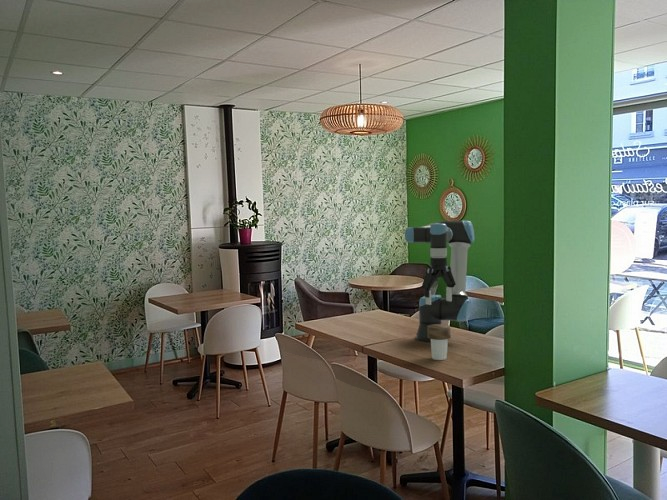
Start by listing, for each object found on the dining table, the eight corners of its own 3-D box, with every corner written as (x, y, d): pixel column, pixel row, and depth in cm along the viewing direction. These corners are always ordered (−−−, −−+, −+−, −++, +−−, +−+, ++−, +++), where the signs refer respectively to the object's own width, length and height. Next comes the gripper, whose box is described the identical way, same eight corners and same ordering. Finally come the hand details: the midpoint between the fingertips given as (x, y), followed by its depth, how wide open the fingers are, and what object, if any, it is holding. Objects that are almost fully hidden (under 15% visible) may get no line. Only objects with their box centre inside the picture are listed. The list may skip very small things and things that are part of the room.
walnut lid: (438, 333, 265) (438, 323, 265) (455, 337, 256) (455, 326, 256) (422, 336, 259) (422, 326, 258) (439, 340, 250) (439, 330, 250)
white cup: (450, 357, 260) (450, 336, 259) (444, 361, 253) (444, 339, 252) (434, 355, 264) (434, 334, 263) (428, 359, 257) (428, 338, 256)
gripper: (451, 254, 265) (451, 298, 267) (413, 258, 251) (413, 304, 252) (463, 255, 259) (463, 300, 261) (425, 259, 244) (425, 307, 246)
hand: (438, 302), depth 256 cm, fingers open, 13 cm apart
